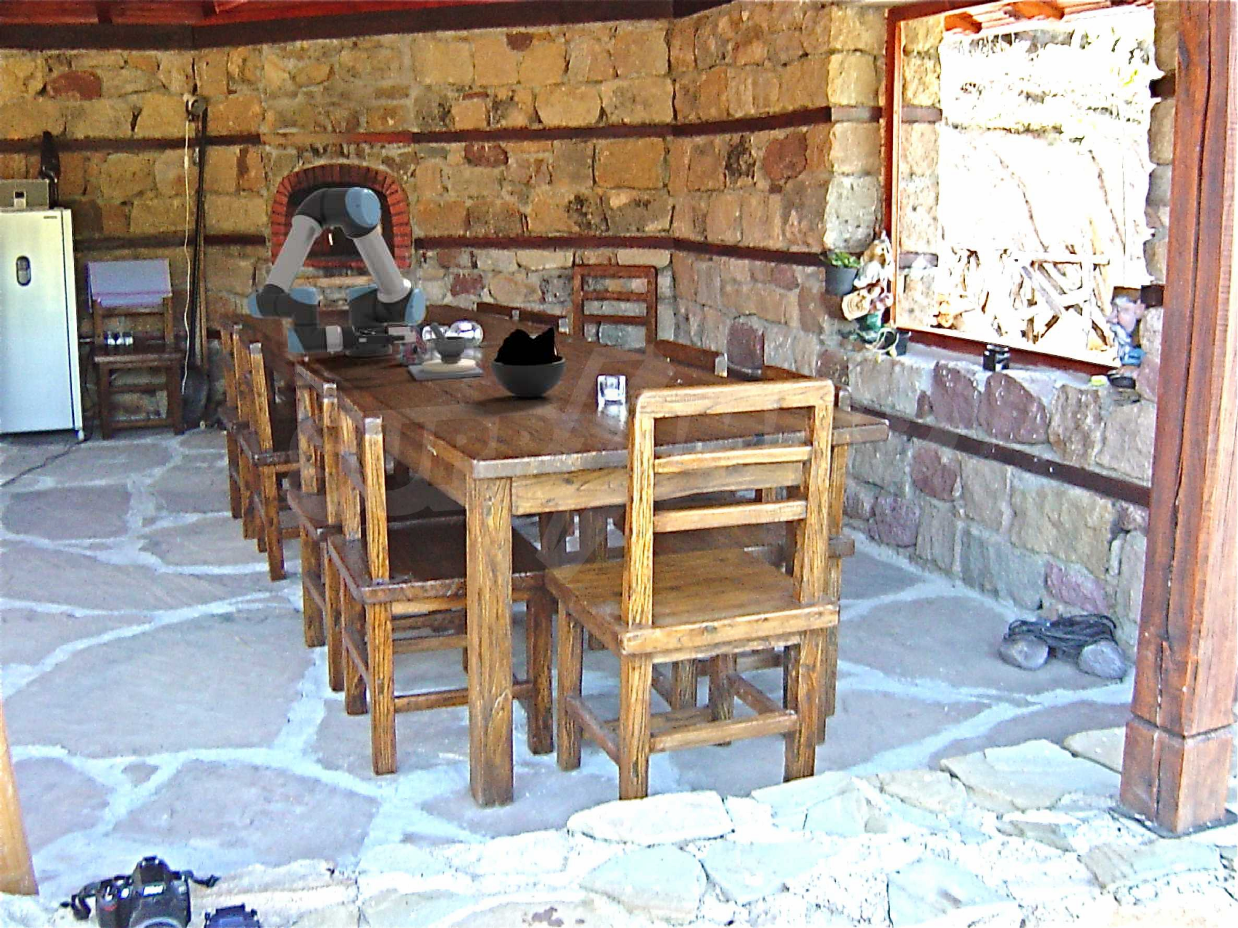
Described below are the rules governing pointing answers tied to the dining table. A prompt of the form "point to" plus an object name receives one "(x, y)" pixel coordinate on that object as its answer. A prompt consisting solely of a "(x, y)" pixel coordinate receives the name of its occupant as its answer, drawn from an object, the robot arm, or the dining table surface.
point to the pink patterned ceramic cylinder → (413, 352)
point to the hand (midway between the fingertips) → (413, 334)
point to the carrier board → (441, 376)
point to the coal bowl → (528, 363)
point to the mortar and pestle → (448, 345)
